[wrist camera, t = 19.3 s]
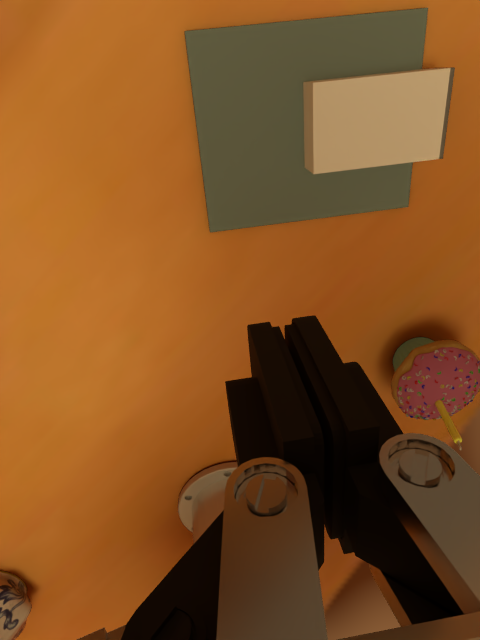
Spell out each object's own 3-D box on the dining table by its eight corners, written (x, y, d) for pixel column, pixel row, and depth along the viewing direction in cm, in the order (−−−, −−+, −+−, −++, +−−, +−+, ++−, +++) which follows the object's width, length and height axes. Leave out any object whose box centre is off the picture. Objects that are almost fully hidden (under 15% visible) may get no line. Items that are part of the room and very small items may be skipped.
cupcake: (397, 400, 49) (457, 488, 39) (359, 353, 45) (415, 436, 35) (466, 356, 47) (548, 436, 37) (433, 303, 44) (515, 375, 33)
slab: (304, 167, 35) (425, 153, 36) (313, 174, 33) (442, 158, 34) (303, 81, 32) (435, 67, 33) (313, 82, 30) (454, 67, 31)
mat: (406, 205, 38) (408, 206, 38) (209, 230, 37) (210, 232, 37) (425, 8, 31) (428, 7, 31) (184, 31, 30) (184, 31, 30)
